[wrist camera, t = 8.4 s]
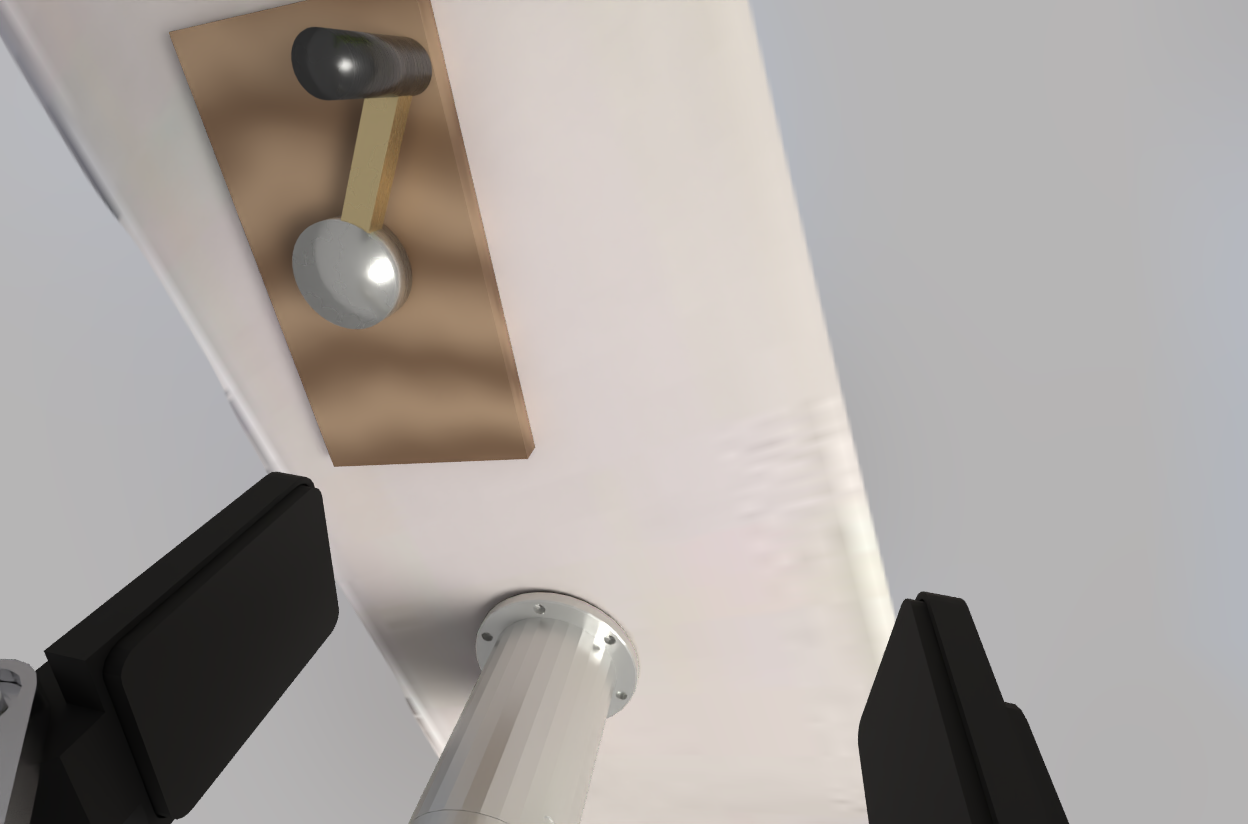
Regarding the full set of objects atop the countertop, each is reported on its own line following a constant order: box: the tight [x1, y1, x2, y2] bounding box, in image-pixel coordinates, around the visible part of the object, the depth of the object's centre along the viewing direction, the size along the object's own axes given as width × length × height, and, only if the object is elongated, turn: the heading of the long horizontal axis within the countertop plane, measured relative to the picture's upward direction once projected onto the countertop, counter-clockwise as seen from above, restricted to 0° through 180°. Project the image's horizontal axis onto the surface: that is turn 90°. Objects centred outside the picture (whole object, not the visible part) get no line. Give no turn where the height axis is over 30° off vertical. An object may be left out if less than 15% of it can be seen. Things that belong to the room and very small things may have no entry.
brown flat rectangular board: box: [169, 0, 535, 467], centre depth 39 cm, size 26×14×2 cm, turn 9°
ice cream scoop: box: [291, 27, 432, 329], centre depth 33 cm, size 15×6×7 cm, turn 157°
